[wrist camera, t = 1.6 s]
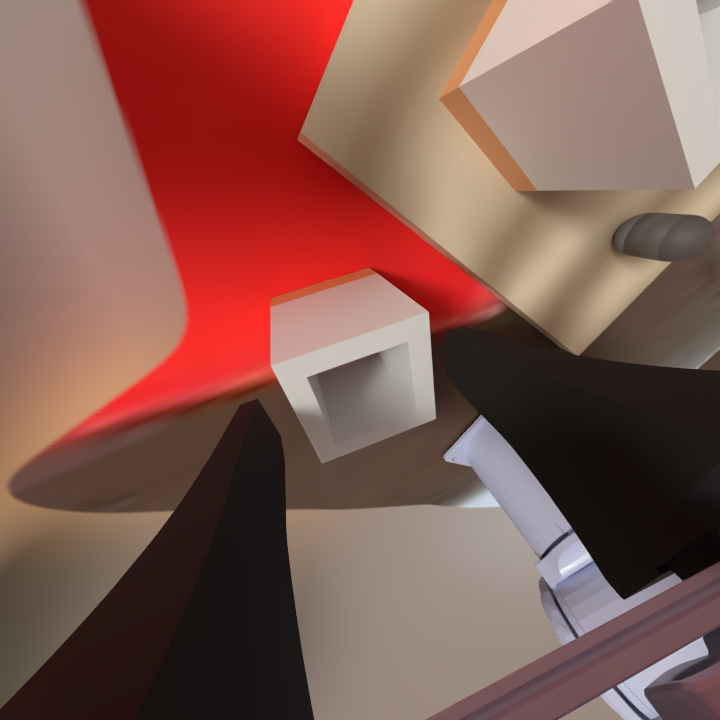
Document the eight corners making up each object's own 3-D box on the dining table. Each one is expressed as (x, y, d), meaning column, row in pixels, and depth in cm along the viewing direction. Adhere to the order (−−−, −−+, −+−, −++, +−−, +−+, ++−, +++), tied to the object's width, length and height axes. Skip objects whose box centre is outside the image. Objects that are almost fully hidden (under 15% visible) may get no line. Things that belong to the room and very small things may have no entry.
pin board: (705, 192, 16) (848, 191, 12) (559, 346, 20) (631, 385, 16) (532, -443, 6) (1158, -1952, 2) (296, 140, 10) (315, 101, 6)
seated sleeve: (609, 56, 10) (941, -77, 5) (514, 190, 11) (695, 189, 7) (546, -100, 7) (1076, -661, 3) (438, 98, 9) (635, -13, 4)
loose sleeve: (369, 267, 13) (428, 311, 8) (384, 349, 16) (436, 418, 11) (270, 298, 12) (270, 365, 8) (305, 377, 15) (321, 463, 10)
